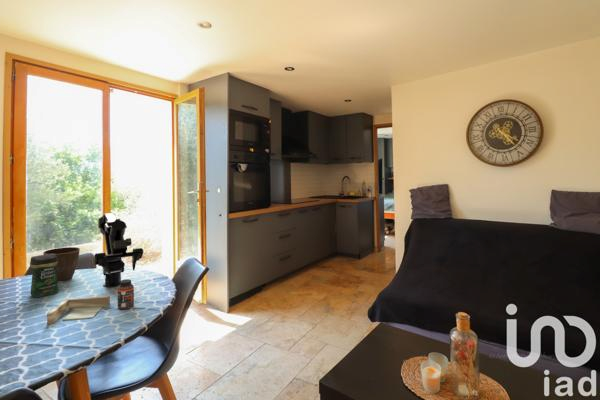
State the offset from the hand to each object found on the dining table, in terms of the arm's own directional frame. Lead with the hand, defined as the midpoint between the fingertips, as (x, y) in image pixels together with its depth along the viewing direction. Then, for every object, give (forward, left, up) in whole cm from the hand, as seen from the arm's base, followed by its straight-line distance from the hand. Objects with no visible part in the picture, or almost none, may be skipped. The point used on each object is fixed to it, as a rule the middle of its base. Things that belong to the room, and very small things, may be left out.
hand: (122, 272), depth 127 cm
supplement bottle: (+4, +6, -13) cm, 15 cm away
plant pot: (-15, -52, -13) cm, 56 cm away
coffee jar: (+2, -41, -13) cm, 43 cm away
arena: (+14, -5, -13) cm, 20 cm away
